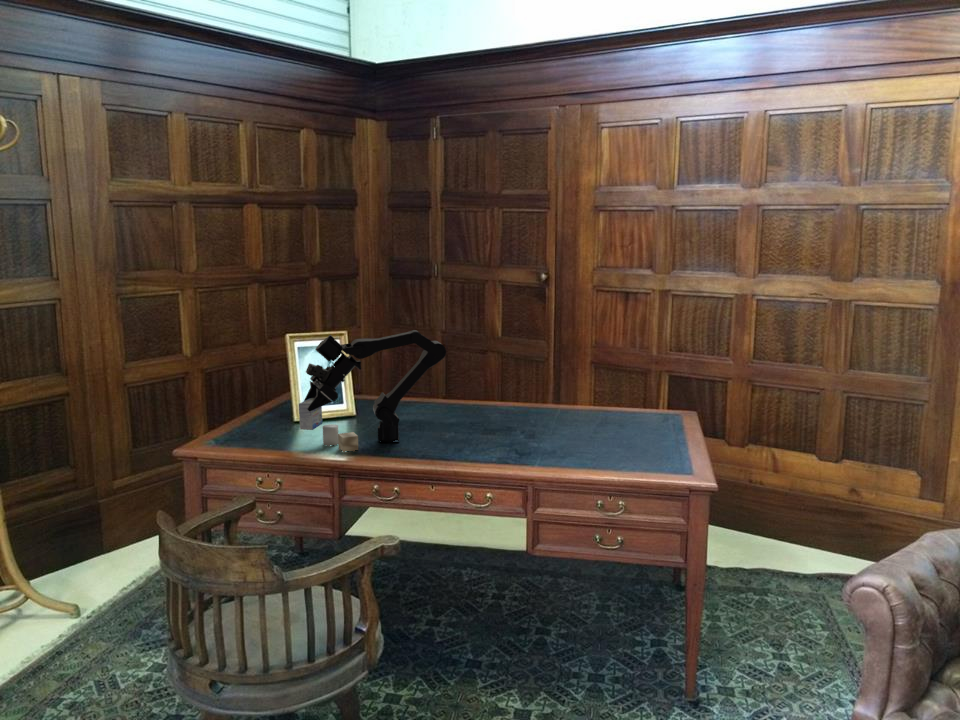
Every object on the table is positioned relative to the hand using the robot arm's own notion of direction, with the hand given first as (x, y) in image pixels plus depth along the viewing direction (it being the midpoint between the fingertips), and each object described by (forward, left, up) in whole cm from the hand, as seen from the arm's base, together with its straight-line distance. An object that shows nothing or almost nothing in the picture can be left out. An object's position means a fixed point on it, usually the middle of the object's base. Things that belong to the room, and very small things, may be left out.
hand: (306, 407), depth 254 cm
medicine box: (-1, 0, -7) cm, 7 cm away
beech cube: (-13, +4, -13) cm, 19 cm away
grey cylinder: (-7, -3, -13) cm, 16 cm away
